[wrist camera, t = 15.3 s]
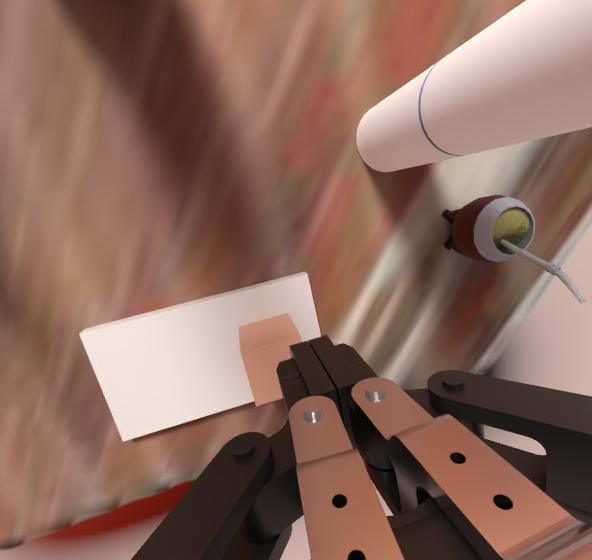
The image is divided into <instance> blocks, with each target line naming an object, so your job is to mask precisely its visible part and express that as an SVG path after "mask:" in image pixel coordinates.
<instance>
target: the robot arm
mask: <svg viewBox="0 0 592 560" xmlns="http://www.w3.org/2000/svg"><path fill="white" fill-rule="evenodd" d="M289 350H290V354H291V359H288V360H284V361H281V362H279V364H278V367H277V369H276V372H277V376H278V380H279V384H280V388H281V392H282V396H283V400H284V404H285V407H286V411H287V414H288V420H287V422H286V424H285V425H284V427H283V428H282V429H281V430H280V431H279V432H277V433H276V434H274V435H273V436H271V437H269V438H267V437H266V436H265V435H263V434H261V433H258V432H249V433H244V434H241V435H238V436H236V437H234V438H233V439H231V440H230V441H229V442H227V443H226V444H225V445H224V446H223V448H222V449H221V450H220V451H219V453H218V454H217V455H216V456H215V457H214V459H213V460H212V461H211V462H210V464H209V465H208V466H207V467H206V468H205V470H204V471H203V472H202V473H201V475H200V476H199V477H198V478H197V479H196V481H195V482H194V483H193V484H192V486H191V487H190V488H189V489H188V491H187V492H186V493H185V494H184V496H183V497H182V498H181V499H180V500H179V502H178V503H177V504H176V506H175V507H174V508H173V509H172V511H170V513H169V514H168V515H167V516H166V517H165V519H164V520H163V521H162V523H161V524H160V525H159V526H158V527H157V529H156V530H155V531H154V532H153V533H152V535H151V536H150V537H149V538H148V540H147V541H146V542H145V543H144V545H143V546H142V547H141V548H140V549H139V551H138V552H137V553H136V554H135V555H134V557H133V558H132V559H131V560H280V558H281V556H282V554H283V551H284V549H285V547H286V545H287V543H288V541H289V538H290V536H291V532H292V523H293V522H295V521H296V520H297V519H299V518H300V517H301V516H303V515H304V518H305V524H306V530H307V536H308V542H309V548H310V554H311V560H592V397H590V396H585V395H581V394H576V393H570V392H565V391H560V390H554V389H550V388H545V387H540V386H534V385H529V384H524V383H519V382H514V381H509V380H503V379H498V378H493V377H488V376H483V375H478V374H473V373H467V372H462V371H456V370H446V371H441V372H437V373H435V374H433V375H432V376H431V377H430V378H429V379H428V382H427V385H428V389H417V390H402V389H401V388H400V387H399V386H398V385H397V384H396V383H394V382H393V381H391V380H389V379H386V378H379V377H378V376H377V375H376V374H375V373H374V371H373V370H372V369H371V368H370V367H369V366H368V364H367V363H366V362H365V361H364V360H363V359H362V358H361V356H360V355H359V354H358V353H357V352H356V351H355V349H354V348H353V347H350V346H348V345H346V344H343V343H342V344H339V345H335V346H334V344H333V343H332V342H331V340H330V339H329V338H328V336H327V335H325V336H321V337H318V338H314V339H311V340H308V341H304V342H300V343H297V344H293V345H290V346H289ZM484 425H487V426H491V427H494V428H498V429H502V430H505V431H509V432H513V433H516V434H520V435H523V436H527V437H530V438H532V439H534V440H536V441H538V442H539V443H540V444H541V445H542V446H543V447H544V449H545V451H546V455H536V454H533V453H530V452H526V451H523V450H520V449H517V448H513V447H510V446H507V445H503V444H500V443H497V442H494V441H490V440H487V439H484ZM358 450H360V451H361V453H362V455H363V460H364V463H363V460H362V458H361V456H360V453H359V451H358ZM371 480H372V482H373V483H374V485H375V487H376V488H377V490H378V491H379V493H380V495H381V496H382V498H383V499H384V501H385V502H386V504H387V506H388V507H389V509H390V510H391V512H392V513H393V515H394V516H386V515H385V513H384V510H383V508H382V505H381V503H380V501H379V499H378V496H377V494H376V491H375V489H374V486H373V484H372V482H371Z"/></svg>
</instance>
